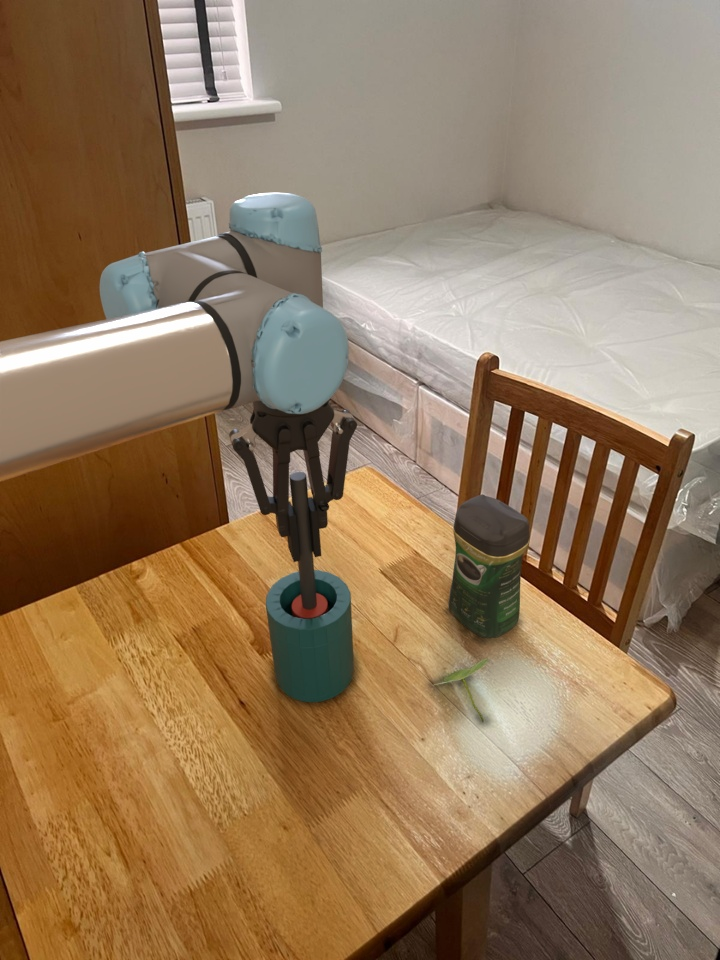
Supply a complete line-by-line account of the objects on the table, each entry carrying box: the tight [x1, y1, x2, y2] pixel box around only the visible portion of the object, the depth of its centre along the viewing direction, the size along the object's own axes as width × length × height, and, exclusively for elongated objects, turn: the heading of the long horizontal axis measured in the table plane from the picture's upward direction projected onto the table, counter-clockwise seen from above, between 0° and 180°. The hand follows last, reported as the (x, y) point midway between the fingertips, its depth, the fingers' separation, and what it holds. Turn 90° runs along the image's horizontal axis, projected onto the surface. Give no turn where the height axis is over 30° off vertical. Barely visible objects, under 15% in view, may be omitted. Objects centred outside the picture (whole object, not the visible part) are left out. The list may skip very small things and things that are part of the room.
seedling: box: [434, 658, 489, 722], centre depth 90 cm, size 7×8×7 cm
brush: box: [289, 471, 328, 619], centre depth 85 cm, size 4×4×24 cm
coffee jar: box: [448, 493, 530, 639], centre depth 97 cm, size 10×8×19 cm
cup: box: [265, 569, 355, 703], centre depth 92 cm, size 10×10×13 cm
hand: (304, 551), depth 84 cm, fingers closed on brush, 2 cm apart
